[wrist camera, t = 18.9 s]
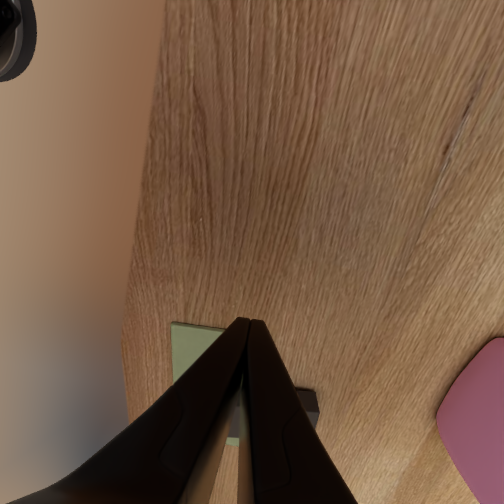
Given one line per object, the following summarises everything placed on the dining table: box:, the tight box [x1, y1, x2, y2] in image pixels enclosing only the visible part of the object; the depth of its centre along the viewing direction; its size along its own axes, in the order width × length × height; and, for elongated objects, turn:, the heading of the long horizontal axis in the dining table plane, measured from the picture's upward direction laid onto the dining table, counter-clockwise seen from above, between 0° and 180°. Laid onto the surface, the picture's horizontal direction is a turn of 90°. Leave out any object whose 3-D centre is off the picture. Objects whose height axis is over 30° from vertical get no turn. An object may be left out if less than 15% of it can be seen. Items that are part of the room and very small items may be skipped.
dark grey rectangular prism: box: [227, 389, 320, 438], centre depth 28 cm, size 2×4×10 cm
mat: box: [171, 322, 272, 447], centre depth 29 cm, size 16×9×1 cm, turn 175°
